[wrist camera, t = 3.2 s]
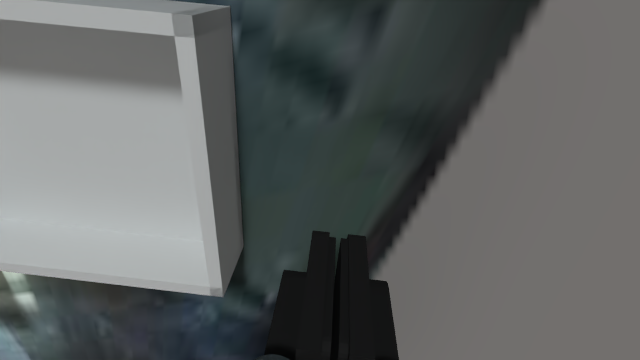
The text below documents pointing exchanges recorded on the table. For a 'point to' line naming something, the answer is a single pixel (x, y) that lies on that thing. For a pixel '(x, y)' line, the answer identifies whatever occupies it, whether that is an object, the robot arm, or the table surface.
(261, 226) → the table surface
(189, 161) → the white open tray
